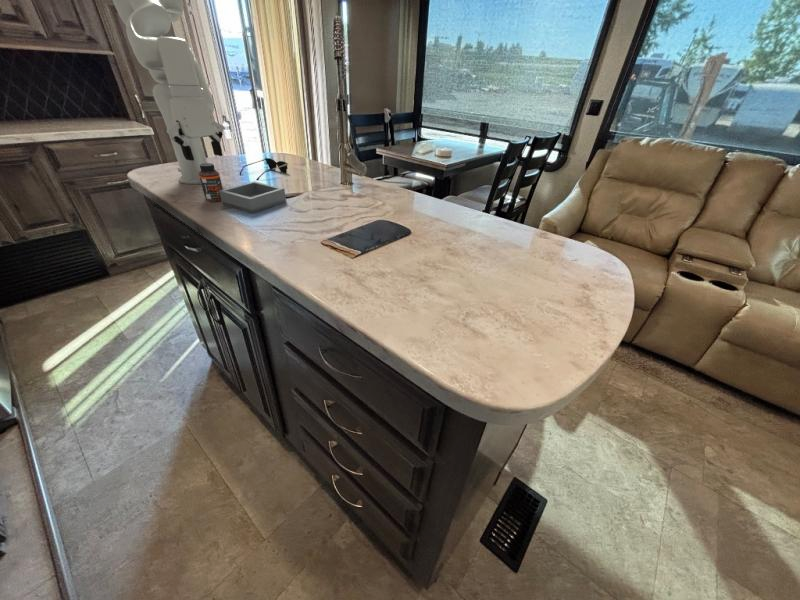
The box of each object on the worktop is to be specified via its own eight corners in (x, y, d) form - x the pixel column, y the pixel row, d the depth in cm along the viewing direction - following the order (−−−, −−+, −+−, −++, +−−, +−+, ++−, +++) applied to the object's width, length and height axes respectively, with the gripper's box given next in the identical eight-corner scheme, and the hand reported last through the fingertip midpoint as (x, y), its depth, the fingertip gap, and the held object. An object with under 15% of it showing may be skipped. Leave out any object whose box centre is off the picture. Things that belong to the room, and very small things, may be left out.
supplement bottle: (211, 203, 107) (201, 167, 100) (202, 199, 109) (191, 164, 103) (229, 199, 111) (220, 164, 104) (219, 195, 113) (210, 161, 107)
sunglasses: (289, 174, 142) (287, 162, 139) (259, 184, 131) (256, 171, 128) (268, 168, 148) (265, 157, 145) (237, 178, 137) (234, 165, 134)
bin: (222, 204, 106) (219, 190, 104) (256, 194, 117) (254, 181, 114) (253, 213, 101) (250, 199, 99) (286, 201, 112) (284, 188, 109)
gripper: (205, 92, 100) (221, 152, 110) (146, 92, 88) (169, 160, 97) (222, 93, 98) (236, 155, 107) (163, 93, 85) (185, 163, 94)
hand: (204, 157), depth 102 cm, fingers open, 9 cm apart
